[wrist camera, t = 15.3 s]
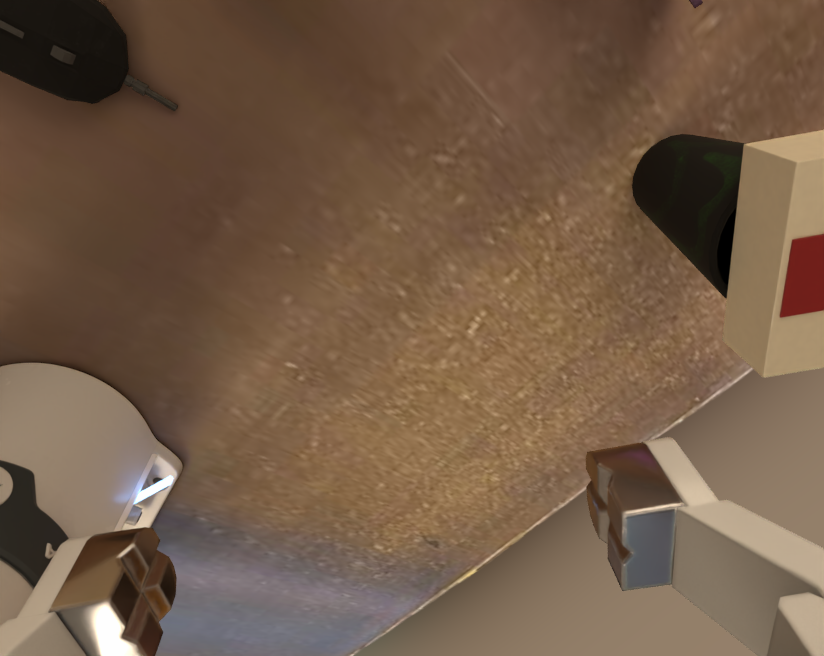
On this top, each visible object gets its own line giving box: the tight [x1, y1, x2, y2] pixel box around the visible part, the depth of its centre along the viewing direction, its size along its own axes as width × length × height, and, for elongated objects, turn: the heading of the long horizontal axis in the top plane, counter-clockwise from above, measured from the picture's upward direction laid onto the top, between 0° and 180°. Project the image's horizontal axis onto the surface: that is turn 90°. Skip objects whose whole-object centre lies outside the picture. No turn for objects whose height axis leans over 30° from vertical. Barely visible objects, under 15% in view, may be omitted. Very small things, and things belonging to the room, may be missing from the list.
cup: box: [632, 134, 744, 298], centre depth 33 cm, size 8×8×12 cm
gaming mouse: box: [0, 0, 178, 111], centre depth 30 cm, size 6×15×4 cm, turn 56°
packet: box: [722, 130, 824, 378], centre depth 26 cm, size 10×6×4 cm, turn 9°
